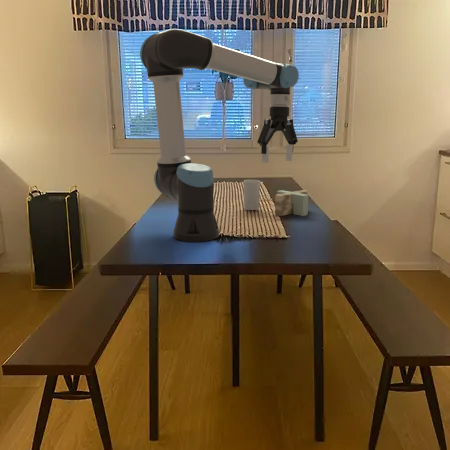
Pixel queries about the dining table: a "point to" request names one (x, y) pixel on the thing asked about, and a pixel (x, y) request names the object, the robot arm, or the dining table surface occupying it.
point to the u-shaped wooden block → (285, 203)
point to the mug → (251, 194)
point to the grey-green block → (298, 202)
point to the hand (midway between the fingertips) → (277, 161)
